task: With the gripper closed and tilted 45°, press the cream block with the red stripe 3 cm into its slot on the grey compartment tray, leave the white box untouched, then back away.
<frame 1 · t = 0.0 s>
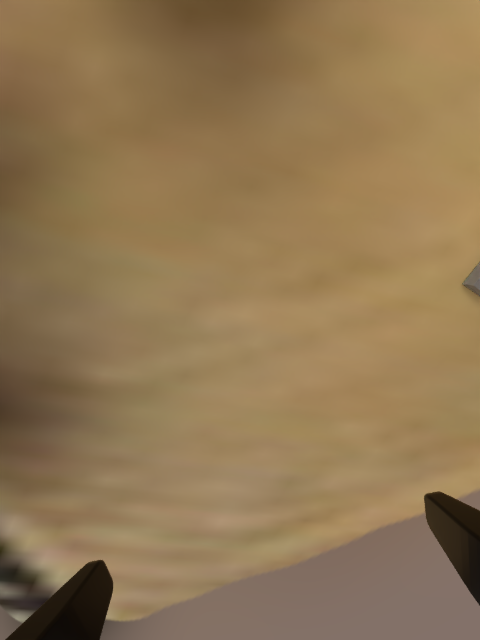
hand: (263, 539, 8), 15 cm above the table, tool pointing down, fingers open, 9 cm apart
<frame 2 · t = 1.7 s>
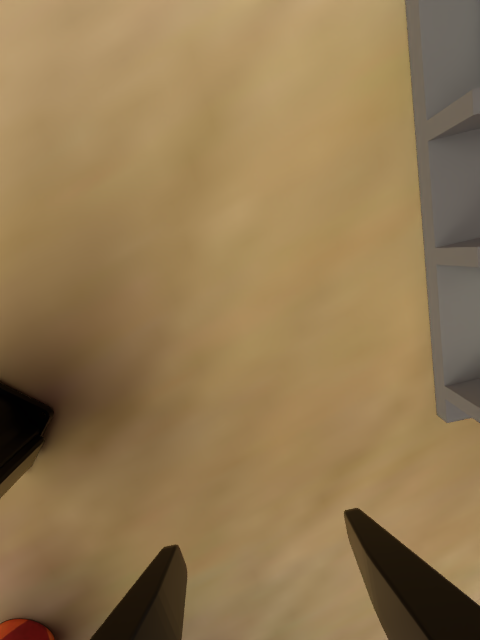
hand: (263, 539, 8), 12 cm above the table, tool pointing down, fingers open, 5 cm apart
paper cup: (26, 638, 25), on the table
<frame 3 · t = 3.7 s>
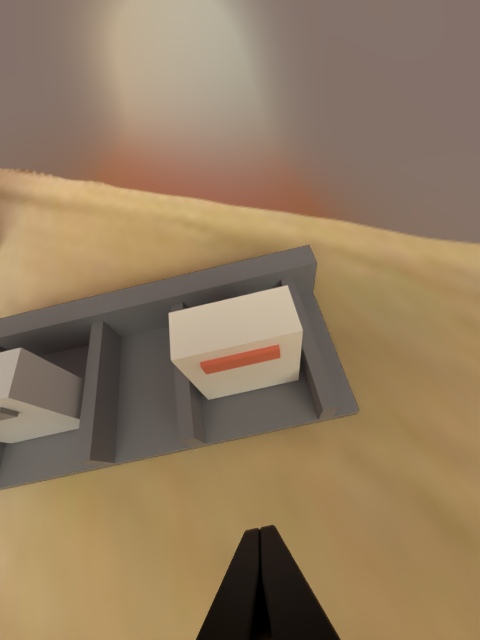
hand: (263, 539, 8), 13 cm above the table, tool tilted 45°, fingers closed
white box: (14, 404, 19), point 5 cm above the table, slide at 0.0 cm
grey compartment tray: (157, 374, 24), on the table
cream block: (242, 353, 19), point 5 cm above the table, slide at 0.0 cm
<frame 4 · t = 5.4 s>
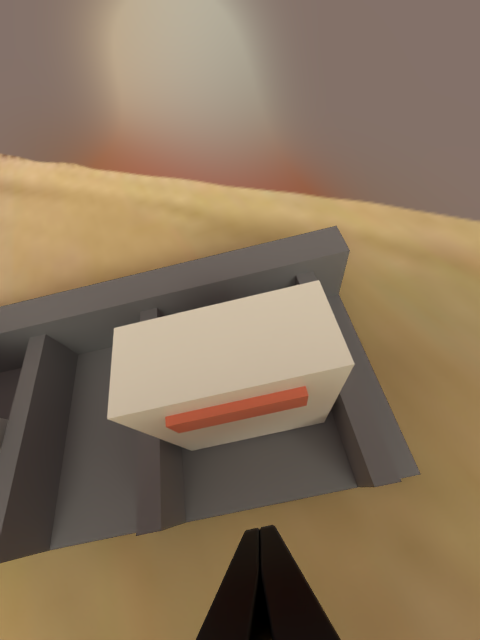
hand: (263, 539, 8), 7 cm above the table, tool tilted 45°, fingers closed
grey compartment tray: (123, 407, 18), on the table
cream block: (241, 388, 12), point 5 cm above the table, slide at 0.0 cm
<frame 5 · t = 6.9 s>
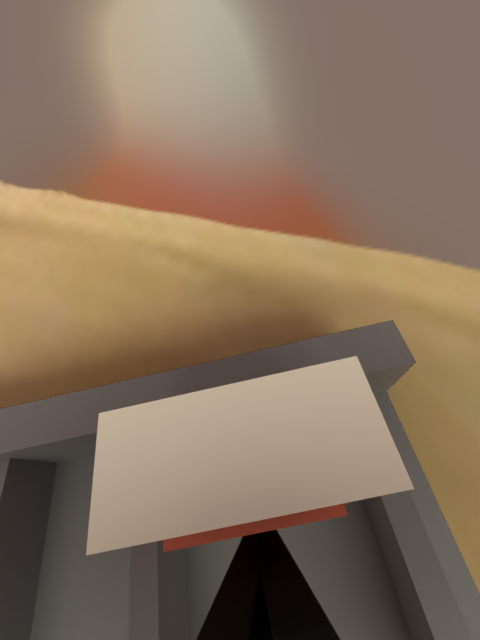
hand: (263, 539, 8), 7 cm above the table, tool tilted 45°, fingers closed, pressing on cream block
grey compartment tray: (113, 541, 14), on the table
cream block: (254, 464, 10), point 5 cm above the table, slide at 3.8 cm, touching gripper
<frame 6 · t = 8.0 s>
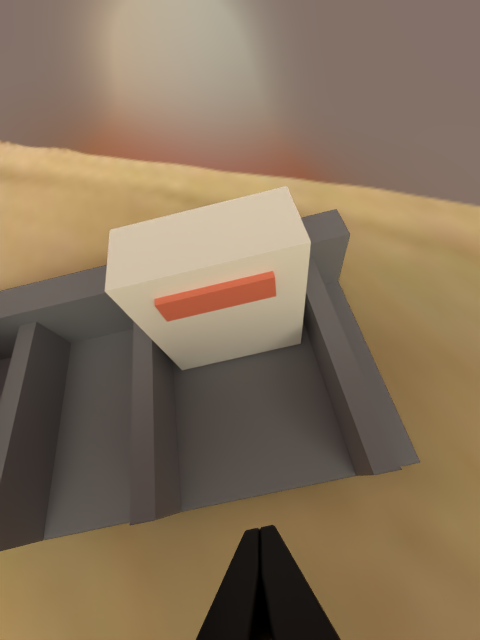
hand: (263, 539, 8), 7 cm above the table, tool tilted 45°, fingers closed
grey compartment tray: (118, 397, 17), on the table
cream block: (223, 300, 13), point 5 cm above the table, slide at 3.8 cm
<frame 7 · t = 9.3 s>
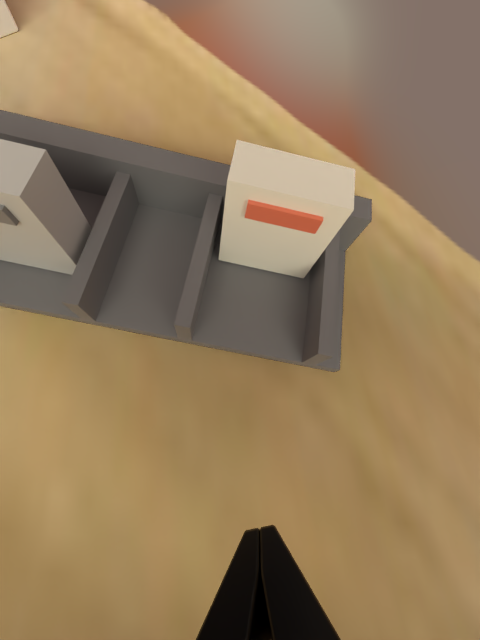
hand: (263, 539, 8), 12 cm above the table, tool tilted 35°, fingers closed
white box: (9, 214, 17), point 5 cm above the table, slide at 0.0 cm
grey compartment tray: (162, 258, 23), on the table
cream block: (275, 223, 19), point 5 cm above the table, slide at 3.8 cm
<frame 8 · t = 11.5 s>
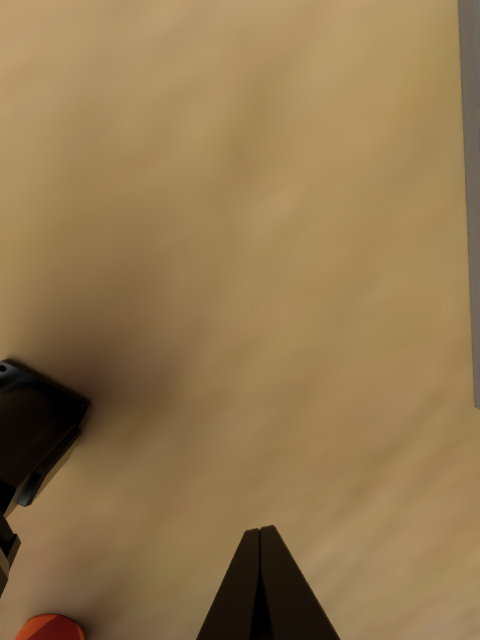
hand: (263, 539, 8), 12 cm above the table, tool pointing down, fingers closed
paper cup: (55, 633, 25), on the table
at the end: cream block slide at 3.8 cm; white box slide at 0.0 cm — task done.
